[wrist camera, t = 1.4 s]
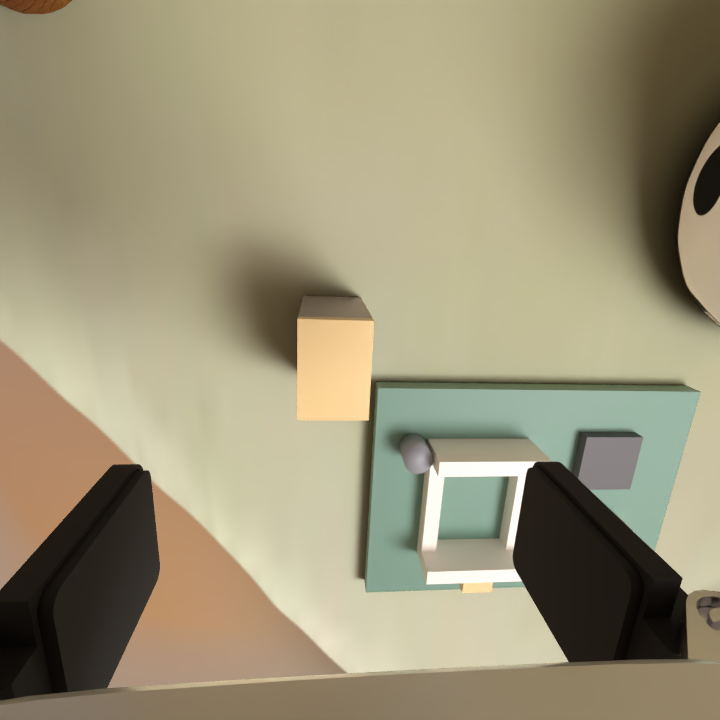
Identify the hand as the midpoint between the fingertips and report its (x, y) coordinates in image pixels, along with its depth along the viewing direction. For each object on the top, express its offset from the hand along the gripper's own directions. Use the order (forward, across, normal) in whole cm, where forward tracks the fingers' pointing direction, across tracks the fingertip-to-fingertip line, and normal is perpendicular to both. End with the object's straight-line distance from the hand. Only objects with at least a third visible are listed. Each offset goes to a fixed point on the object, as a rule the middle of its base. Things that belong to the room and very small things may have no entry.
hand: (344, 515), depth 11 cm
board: (+18, -14, +10) cm, 25 cm away
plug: (+17, 0, 0) cm, 17 cm away
